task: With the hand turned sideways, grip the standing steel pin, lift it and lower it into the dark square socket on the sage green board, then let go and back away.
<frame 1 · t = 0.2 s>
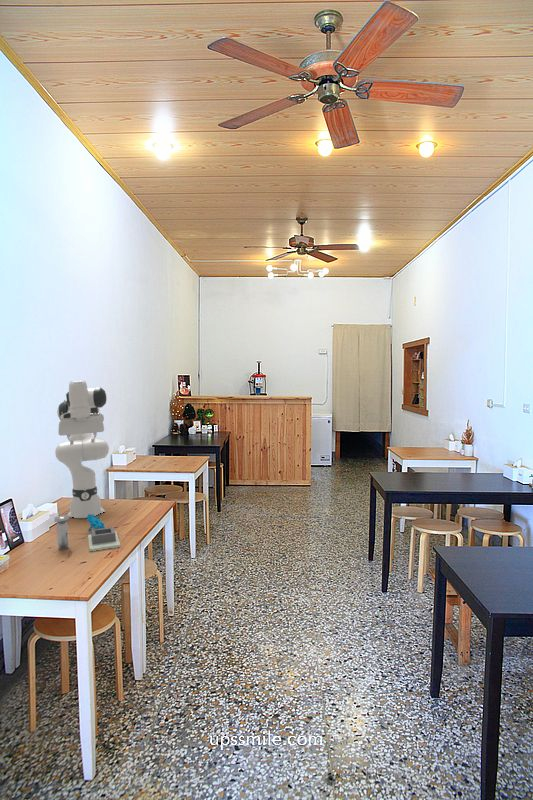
hand: (82, 443, 236), 40 cm above the table, tool pointing down, fingers open, 8 cm apart
socket board: (103, 542, 215), on the table
pin: (63, 548, 209), on the table
gear: (96, 530, 233), on the table
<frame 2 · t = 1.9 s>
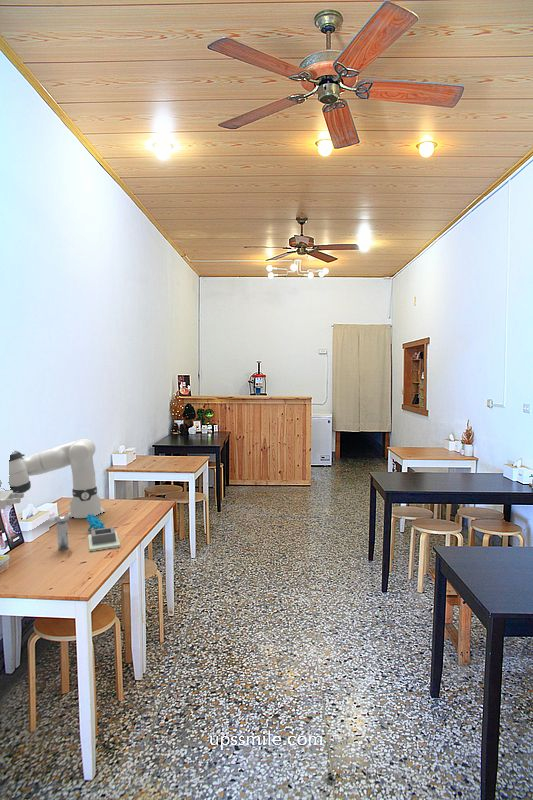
hand: (22, 497, 204), 23 cm above the table, tool horizontal, fingers open, 8 cm apart
nothing on the table moved.
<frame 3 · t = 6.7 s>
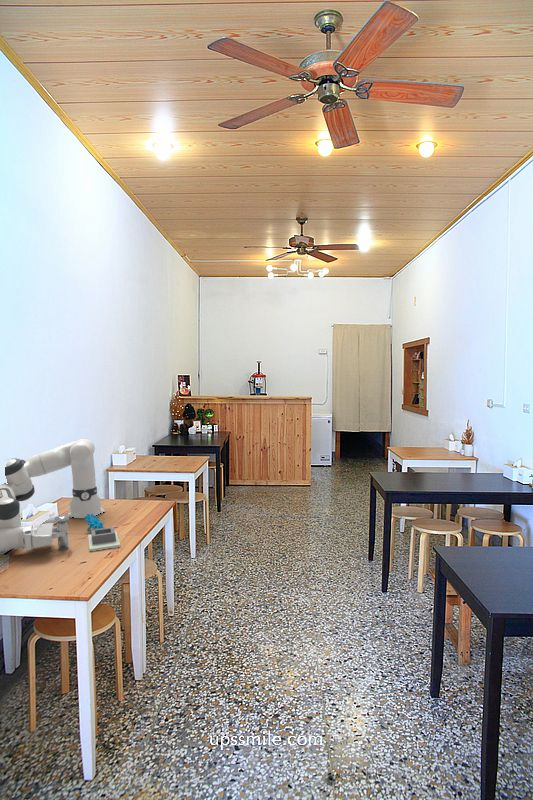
hand: (64, 531, 209), 7 cm above the table, tool horizontal, fingers closed on pin, 4 cm apart
pin: (63, 548, 209), on the table, touching gripper
everything else where it was.
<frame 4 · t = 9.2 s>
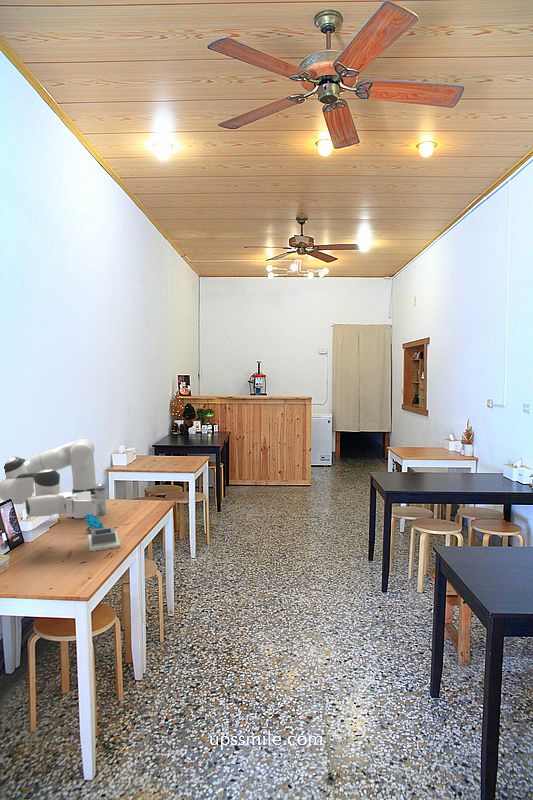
hand: (103, 498, 214), 19 cm above the table, tool horizontal, fingers closed on pin, 4 cm apart
pin: (101, 514, 214), point 12 cm above the table, touching gripper
everything else where it was.
when the fingers open (10 cm above the table, at t = 11.8 s): pin drops 1 cm, resting on socket board.
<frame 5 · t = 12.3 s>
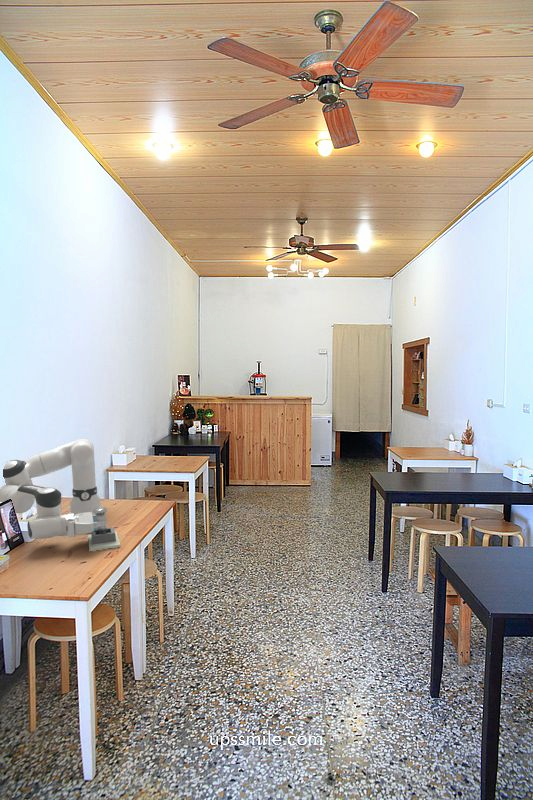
hand: (104, 519, 215), 10 cm above the table, tool horizontal, fingers open, 8 cm apart
pin: (103, 539, 215), point 1 cm above the table, touching socket board
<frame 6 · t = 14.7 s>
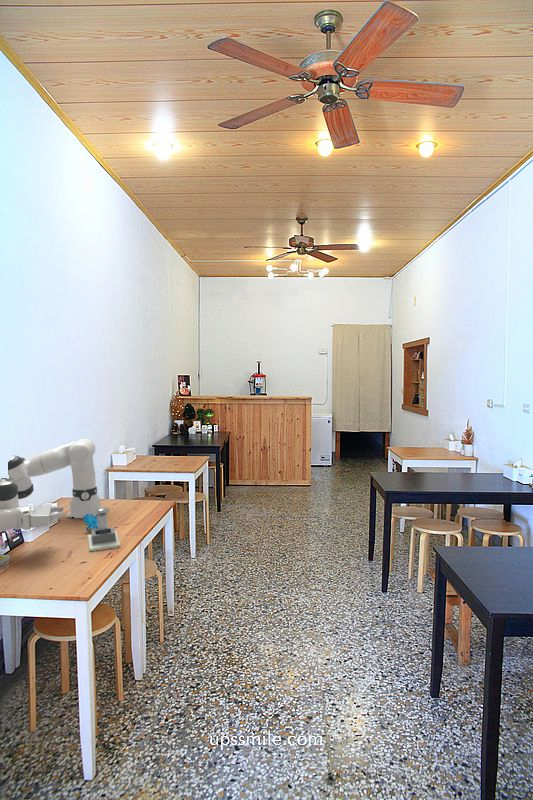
hand: (63, 511, 209), 15 cm above the table, tool horizontal, fingers open, 8 cm apart
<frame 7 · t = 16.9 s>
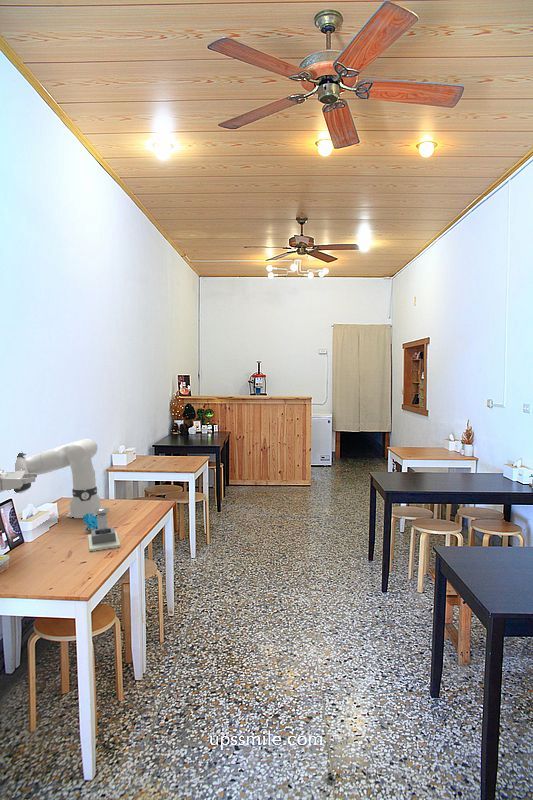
hand: (36, 477, 209), 30 cm above the table, tool horizontal, fingers open, 8 cm apart
at the end: pin 0.1 cm off-centre on the socket board, point 1.2 cm above the socket board's base; pin tilted 0°; the gripper is holding nothing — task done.
